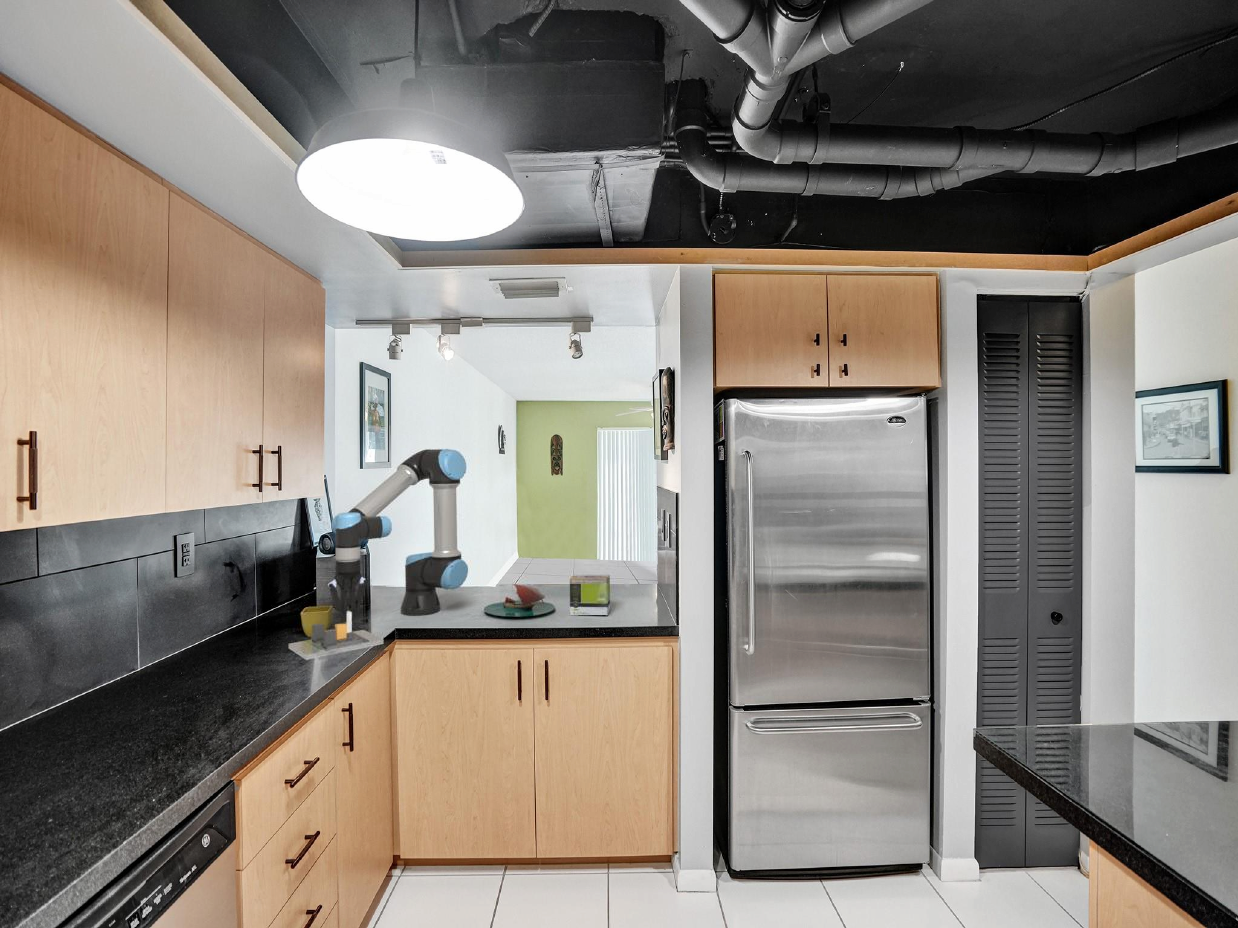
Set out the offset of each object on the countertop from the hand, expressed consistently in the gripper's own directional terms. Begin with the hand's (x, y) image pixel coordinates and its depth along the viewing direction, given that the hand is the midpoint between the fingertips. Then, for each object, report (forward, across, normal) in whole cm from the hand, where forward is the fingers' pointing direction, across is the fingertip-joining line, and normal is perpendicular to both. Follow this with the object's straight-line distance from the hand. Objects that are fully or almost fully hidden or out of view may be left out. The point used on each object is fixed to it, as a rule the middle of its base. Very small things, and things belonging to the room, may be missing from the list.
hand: (347, 631), depth 206 cm
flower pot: (+4, +3, -18) cm, 19 cm away
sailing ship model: (+4, -66, +3) cm, 67 cm away
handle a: (+2, +8, -5) cm, 9 cm away
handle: (+2, +8, +5) cm, 9 cm away
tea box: (+4, -86, +24) cm, 89 cm away
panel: (+4, +4, 0) cm, 5 cm away
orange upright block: (+2, +2, 0) cm, 3 cm away
